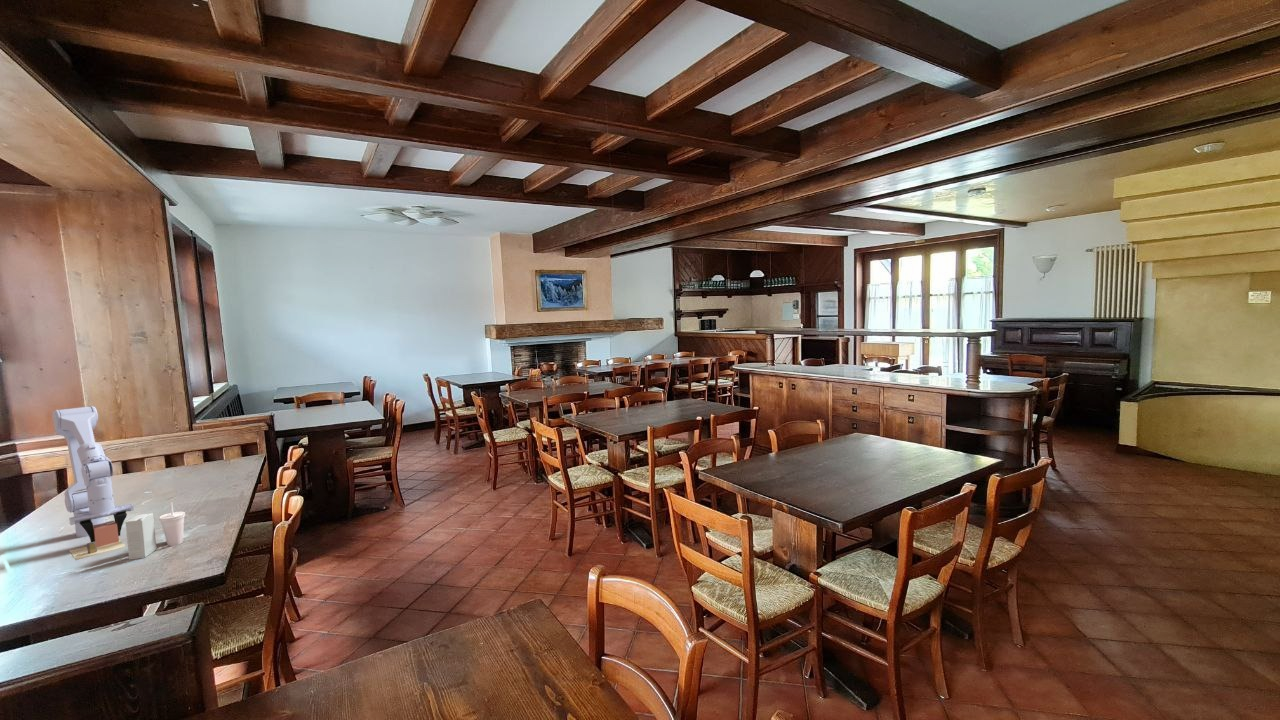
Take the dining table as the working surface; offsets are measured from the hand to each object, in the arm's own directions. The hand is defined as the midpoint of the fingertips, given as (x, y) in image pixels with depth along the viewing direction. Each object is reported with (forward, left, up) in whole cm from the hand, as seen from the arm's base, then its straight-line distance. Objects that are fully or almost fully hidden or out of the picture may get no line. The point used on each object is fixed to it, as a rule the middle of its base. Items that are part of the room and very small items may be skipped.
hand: (105, 538), depth 170 cm
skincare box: (+21, +5, -2) cm, 22 cm away
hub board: (+4, -2, -2) cm, 5 cm away
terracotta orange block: (0, 0, -1) cm, 1 cm away
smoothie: (+19, +13, -2) cm, 23 cm away
